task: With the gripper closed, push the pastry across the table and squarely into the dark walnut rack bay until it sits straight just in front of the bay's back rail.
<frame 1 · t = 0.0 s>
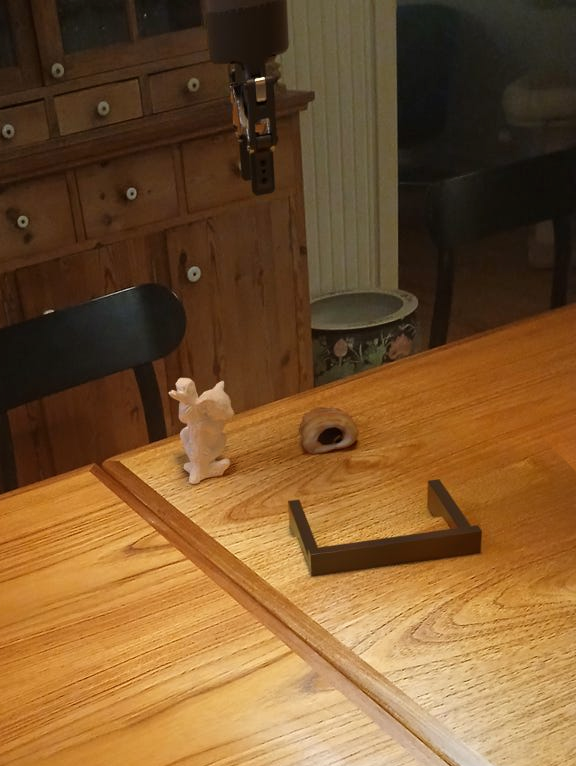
hand: (257, 186, 101), 30 cm above the table, tool pointing down, fingers open, 8 cm apart
white animal figurine: (205, 473, 117), on the table
pastry: (326, 441, 119), on the table
rack bay: (376, 543, 98), on the table
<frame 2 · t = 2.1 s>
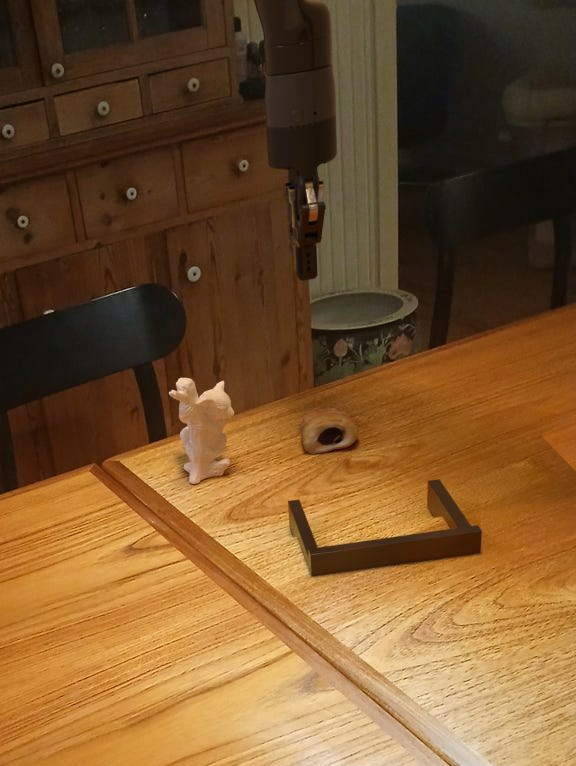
hand: (307, 277, 117), 17 cm above the table, tool pointing down, fingers closed
nothing on the table moved.
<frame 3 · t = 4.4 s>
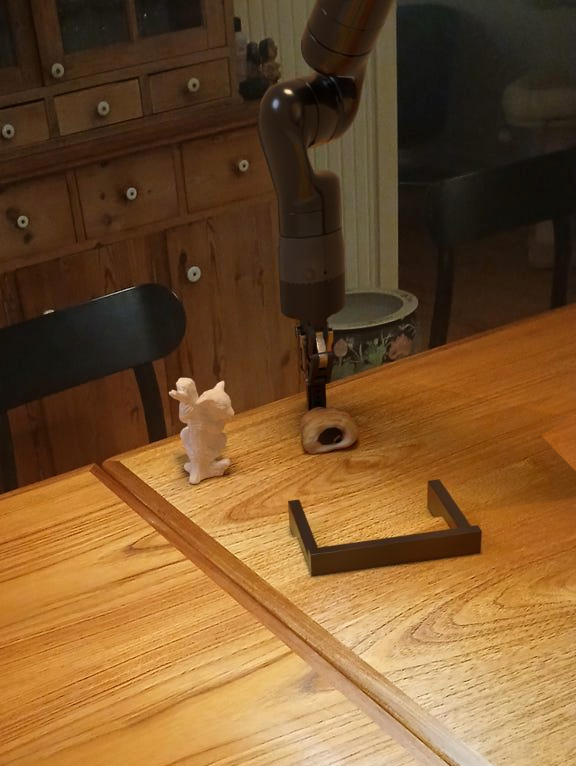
hand: (316, 410, 124), 1 cm above the table, tool pointing down, fingers closed
pastry: (326, 441, 119), on the table, touching gripper
everything else where it was.
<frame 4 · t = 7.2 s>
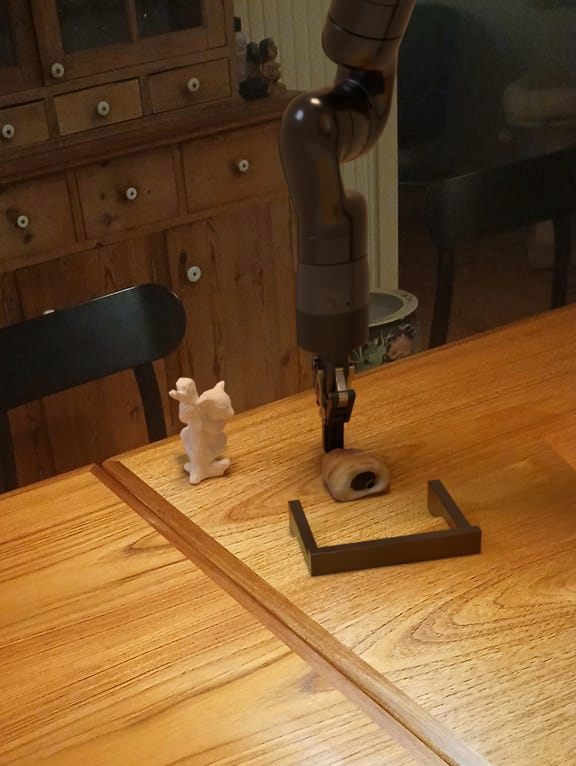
hand: (332, 449, 113), 1 cm above the table, tool pointing down, fingers closed
pastry: (352, 486, 109), on the table, touching gripper
everything else where it was.
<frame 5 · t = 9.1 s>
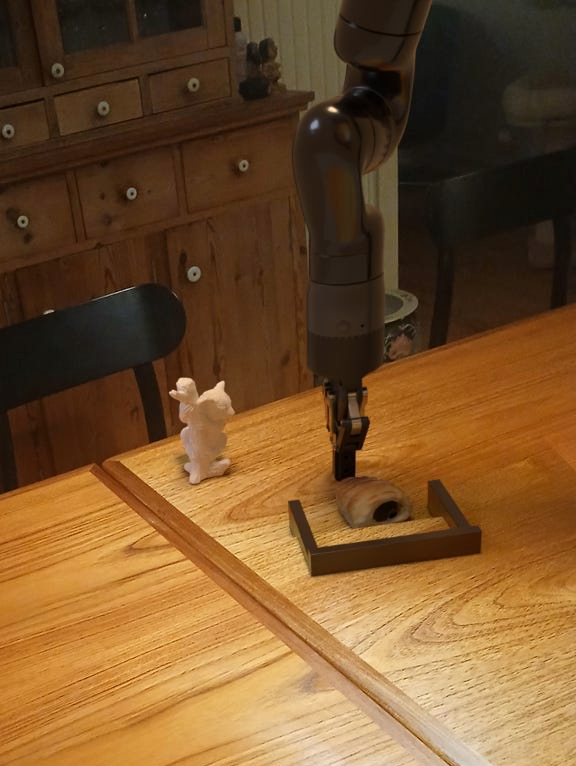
hand: (343, 477, 107), 1 cm above the table, tool pointing down, fingers closed
pastry: (369, 516, 103), on the table, touching gripper
everything else where it was.
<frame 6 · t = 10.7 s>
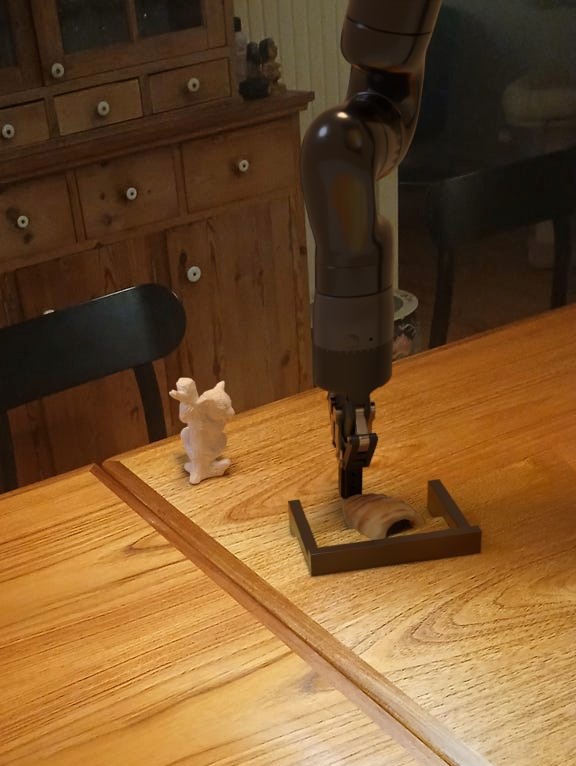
hand: (350, 494, 104), 1 cm above the table, tool pointing down, fingers closed
pastry: (379, 534, 99), on the table, touching gripper
everything else where it was.
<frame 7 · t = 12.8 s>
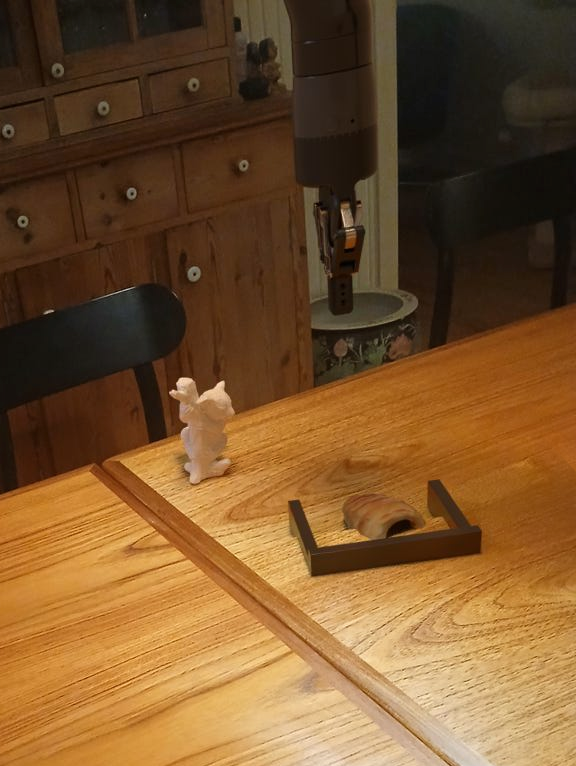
hand: (340, 312, 100), 18 cm above the table, tool pointing down, fingers closed
pastry: (379, 535, 99), on the table
everything else where it was.
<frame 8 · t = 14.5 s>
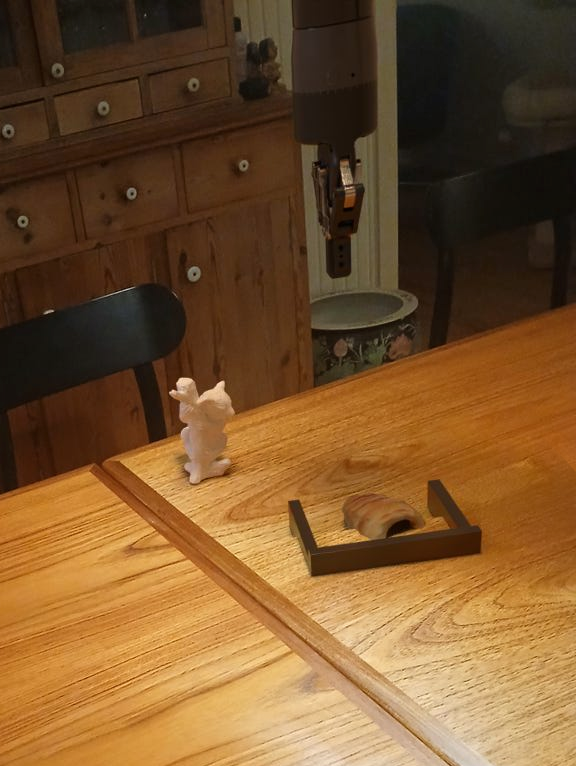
hand: (338, 275, 99), 22 cm above the table, tool pointing down, fingers closed
nothing on the table moved.
at the end: pastry 1.5 cm off-centre on the rack bay, point 0.0 cm above the rack bay's base; pastry moved 24.2 cm from its start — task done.
